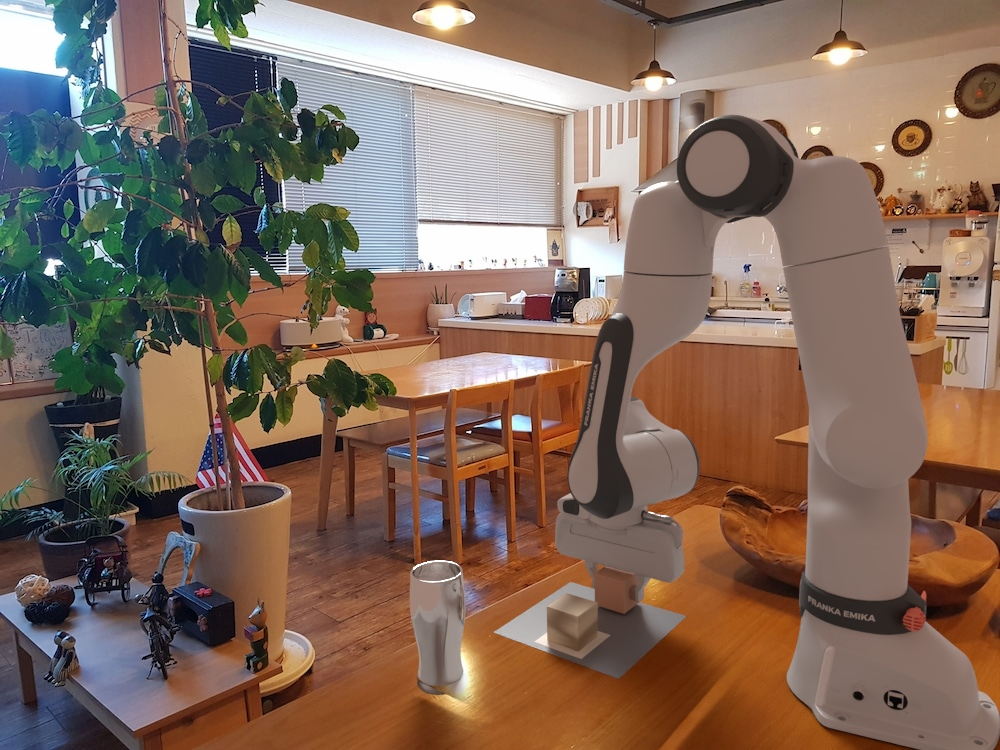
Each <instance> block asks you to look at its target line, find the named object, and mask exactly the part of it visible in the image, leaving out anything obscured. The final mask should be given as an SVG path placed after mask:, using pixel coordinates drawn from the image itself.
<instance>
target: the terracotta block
mask: <svg viewBox="0 0 1000 750" xmlns="http://www.w3.org/2000/svg"><path fill="white" fill-rule="evenodd" d="M594 579H595V602H597V606H600V607H603V608H607V609H610V610H613V611H616V612H620V613H623V614H625V613H626V612H628V611H629V610H630V609H631V608H633V607H634V606H635V605H637V604H638V603H639V602H637V601H634V600H630V589H631V588H633V586H635V585H638V583H639V582H640V581H637V580H636V574H633V573H630V572H626V571H622V570H618V569H615V568H611V567H607V566H603V567H602V568H599V571H597V572H596V573H594ZM640 602H641V603H642V601H640Z"/></svg>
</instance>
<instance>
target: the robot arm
mask: <svg viewBox="0 0 1000 750" xmlns="http://www.w3.org/2000/svg"><path fill="white" fill-rule="evenodd" d="M797 151H798V150H797V148H796V147H795V145H794V144H793V142H792V141H791V139H789V137H788V136H787V135H786V134H784V133H783V132H781V131H779V130H777V129H776V128H775V127H774V126H772V125H771V124H770V123H767V122H766V121H763V120H760V119H756V118H753V117H747V116H744V115H739V114H724V115H721V116H717V117H713V118H710V119H709V120H706V121H704V122H702V123H701V124H700V125H698V126H697V127H696V128H694V129H693V130H692V131H691V132H690V133H689V135H688V136H687V137H686V138H685V140H684V141H683V143H682V145H681V146H680V150H679V152H678V156H677V159H676V176H677V180H670V181H662V182H658V183H657V182H656V183H655V184H652V185H650V186H648V187H647V188H645V189H644V190H642V191H641V192H640V193H639V194H638V195H637V197H636V199H635V200H634V203H633V207H632V211H631V214H630V215H631V216H630V220H629V224H628V230H627V235H626V236H627V237H626V241H625V249H624V261H623V277H622V284H621V289H620V292H619V295H618V299H617V302H616V304H615V306H614V309H613V311H612V313H611V314H610V316H609V317H607V319H606V320H605V321H604V322H603V323H602V325H601V327H600V329H599V331H598V334H597V337H596V341H595V345H594V349H593V355H592V360H591V365H590V370H589V376H588V381H587V385H586V386H587V387H586V392H585V398H584V403H583V404H584V405H583V409H582V415H581V420H580V427H579V431H578V435H577V438H576V442H575V445H574V447H573V451H572V453H571V456H570V459H569V463H568V466H567V467H568V469H567V475H566V476H567V485H568V489H569V492H570V493H568V494H566V495H564V496H562V497H560V498H559V499H558V500H557V501H556V503H557V504H556V505H557V506H556V507H557V510H558V512H559V514H558V515H557V517H556V520H555V527H554V528H555V529H554V544H555V548H556V549H557V552H558V553H559V554H560V555H563V556H565V557H570V558H573V559H574V558H575V559H576V560H577V559H578V560H582V561H584V562H585V563H584V565H585V569H586V570H587V572H588V574H589V577H590V578H591V584H592V585H591V586H592V587H591V588H593V589H595V579H594V573H596V572H597V571H599V570H600V568H599V565H600V566H603V567H605V566H607V567H611V568H615V569H618V570H622V571H626V572H630V573H633V574H636V580H637V581H640V582H639V583H638V585H635V586H633V588H631V589H630V600H634V601H637V602H640V601H641V602H642V601H643V600H644V598H645V588H646V586H647V585H648V583H650V580H651V579H652V580H656V581H658V582H659V581H660V582H663V583H668V584H671V583H673V582H674V581H676V580H677V579H679V578H680V577H681V576H682V575H683V574H684V572H685V557H684V548H683V541H684V540H683V537H684V536H683V535H684V533H683V527H682V525H680V524H679V522H677V520H675V519H674V517H672V516H670V515H667V514H666V515H665V514H664V515H662V514H659V513H656V512H652V511H649V510H648V506H651V505H655V504H659V503H661V502H663V501H669V500H672V499H677V498H679V497H682V496H684V495H687V494H689V493H690V492H691V491H693V489H695V487H696V485H697V483H698V481H699V476H700V471H701V470H700V469H701V466H700V464H701V463H700V457H699V453H698V450H697V448H696V445H695V443H694V442H693V440H692V439H691V438H690V437H689V436H688V435H687V434H685V433H684V432H682V431H681V430H679V429H677V428H676V429H675V428H674V429H673V428H672V427H670V426H668V425H666V424H665V423H663V422H661V420H659V419H656V417H654V416H653V414H652V413H650V412H649V411H648V409H647V407H646V405H645V403H644V402H643V400H642V399H640V398H638V397H633V396H632V393H633V392H632V391H633V388H634V384H635V382H636V379H637V377H638V376H639V374H640V373H641V372H642V370H643V369H644V368H645V366H647V364H649V362H650V361H652V360H653V359H655V358H656V357H657V356H658V355H660V354H661V353H663V352H664V351H666V350H668V349H669V348H671V347H672V346H674V345H677V344H678V343H680V342H681V341H683V340H685V339H687V338H688V337H689V336H690V335H691V334H693V333H694V332H695V331H696V330H697V329H698V328H699V326H700V325H701V324H702V323H703V321H704V320H705V318H706V315H707V312H708V309H709V306H710V302H711V297H712V288H713V287H712V285H713V284H712V283H713V270H714V254H715V253H714V252H715V244H716V240H717V237H718V235H719V232H720V231H721V228H722V227H723V226H725V224H731V223H735V222H738V221H742V220H745V219H748V218H755V217H756V218H761V217H763V218H765V219H766V220H767V221H768V222H769V223H770V225H771V226H772V228H773V229H774V232H775V236H776V238H777V241H778V245H779V246H778V247H779V253H780V258H781V263H782V267H783V268H782V270H783V275H784V280H785V281H784V282H785V286H786V291H787V296H788V303H789V304H788V305H789V308H790V315H791V318H792V319H791V320H792V325H793V330H794V336H795V342H796V345H797V346H796V347H797V352H798V357H799V362H800V369H801V372H802V373H801V374H802V377H803V383H804V388H805V389H804V390H805V392H806V393H805V394H806V399H807V405H808V434H807V435H808V438H807V439H808V440H807V442H808V445H807V447H808V448H807V451H808V452H807V456H808V457H807V520H806V521H807V522H806V523H807V524H806V525H807V526H806V542H805V543H806V546H805V547H806V548H805V551H806V552H805V570H804V571H802V572H801V578H800V582H799V594H798V597H799V598H798V605H799V606H798V607H799V616H800V617H801V619H800V626H799V633H798V637H797V643H796V646H795V650H794V653H793V656H792V660H791V663H790V666H789V668H788V670H787V672H786V682H787V685H788V687H789V689H790V690H791V692H792V693H793V694H794V695H795V696H796V697H797V698H798V699H799V700H800V701H802V702H803V703H804V704H805V705H807V706H808V708H810V709H811V711H812V712H813V714H814V716H815V718H816V719H817V721H818V722H819V723H820V724H821V725H822V726H824V727H826V728H829V729H833V730H836V731H837V730H838V731H842V732H845V733H849V734H853V735H858V736H862V737H865V738H870V739H874V740H879V741H883V742H886V743H887V742H888V743H892V744H896V745H899V746H904V747H907V748H912V749H916V750H994V749H995V748H996V747H997V744H998V743H999V739H1000V712H999V709H998V707H997V704H996V703H995V702H994V701H993V699H992V698H991V697H990V695H988V694H987V693H985V692H983V691H981V690H979V688H978V681H977V677H976V674H975V673H976V672H975V670H974V666H973V664H972V662H971V660H970V659H969V657H968V656H967V655H966V654H965V653H964V652H963V651H961V650H960V649H959V648H958V647H956V645H954V644H953V643H951V641H950V640H948V639H947V638H946V637H945V636H943V635H942V634H941V632H939V631H937V629H935V628H934V627H933V626H932V625H931V624H929V623H928V622H927V621H926V620H927V596H928V595H927V592H926V591H925V590H923V591H922V593H921V595H920V594H918V593H917V592H916V590H914V589H913V588H912V587H911V586H910V585H909V583H908V580H909V566H910V550H911V549H910V548H911V537H912V535H911V533H912V517H911V507H910V506H911V505H910V493H909V492H910V491H909V490H910V489H909V479H911V477H913V476H914V475H915V474H916V472H918V470H919V469H920V468H921V466H922V465H923V462H924V460H925V458H926V454H927V449H928V443H929V441H928V440H929V439H928V438H929V437H928V435H929V434H928V428H927V422H926V416H925V411H924V408H923V403H922V398H921V394H920V390H919V389H920V388H919V385H918V384H919V383H918V381H917V376H916V372H915V367H914V364H913V359H912V356H911V352H910V348H909V344H908V340H907V336H906V333H905V329H904V326H903V321H902V316H901V312H900V306H899V302H898V295H897V289H896V282H895V276H894V271H893V265H892V258H891V254H890V248H889V242H888V238H887V236H888V235H887V231H886V228H885V223H884V219H883V215H882V212H881V211H882V210H881V209H880V204H879V201H878V198H877V196H876V193H875V190H874V186H873V185H872V182H871V180H870V178H869V175H868V172H867V171H866V169H865V168H864V166H863V165H862V164H861V163H859V162H858V161H857V160H855V159H852V158H849V157H846V156H839V155H825V156H819V157H816V158H811V159H801V158H800V157H799V154H798V152H797Z"/></svg>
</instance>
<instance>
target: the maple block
mask: <svg viewBox="0 0 1000 750" xmlns="http://www.w3.org/2000/svg"><path fill="white" fill-rule="evenodd" d="M597 636H598V619H597V602H595V601H591V600H588V599H585V598H582V597H578V596H575V595H572V594H568V593H566V594H565V595H563V596H562V597H560V598H559V599H557V600H556V601H554V602H553V603H551V604H550V605H548V606H547V641H550V642H553V643H555V644H558V645H561V646H564V647H567V648H569V649H572V650H575V651H580V650H581V649H582V648H583V647H585V646H586V645H587V644H588V643H590V642H591V641H592V640H594V639H595V638H596V637H597Z"/></svg>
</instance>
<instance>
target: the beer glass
mask: <svg viewBox="0 0 1000 750" xmlns="http://www.w3.org/2000/svg"><path fill="white" fill-rule="evenodd" d="M409 575H410V577H409V578H410V579H409V610H410V617H411V618H410V619H411V624H412V630H413V633H414V637H415V641H416V645H417V651H418V657H419V659H418V660H419V661H418V662H419V663H418V671H417V678H418V680H416V684H417V687H418V688H419V690H421V691H422V692H423V693H426V694H429V695H432V696H445V695H446V693H445V692H443V691H441V690H438V689H436V688H434V687H444V686H449V685H452V684H455V683H456V682H458V681H459V680H460V679H461V678H462V677H463V676H464V667H463V664H462V663H463V662H462V654H461V651H462V640H463V634H464V628H465V619H466V590H465V581H464V572H463V568H462V566H461V565H460V564H458V563H456V562H453V561H449V560H430V561H427V562H422V563H420V564H417V565H416V566H414V567H413V568H411V570H410V572H409ZM431 686H432V687H431Z"/></svg>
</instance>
